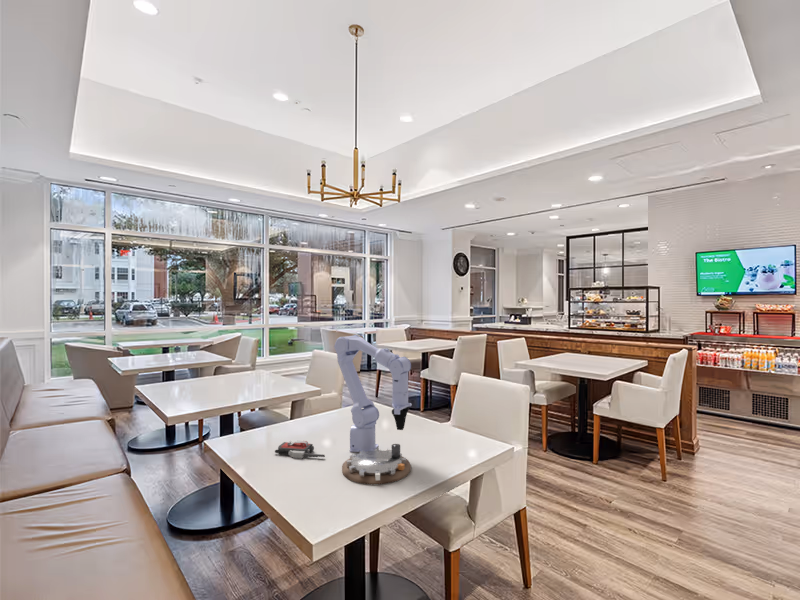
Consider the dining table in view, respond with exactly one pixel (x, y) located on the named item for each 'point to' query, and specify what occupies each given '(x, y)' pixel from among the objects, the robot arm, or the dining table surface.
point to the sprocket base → (376, 475)
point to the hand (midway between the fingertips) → (400, 429)
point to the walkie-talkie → (297, 449)
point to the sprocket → (377, 462)
